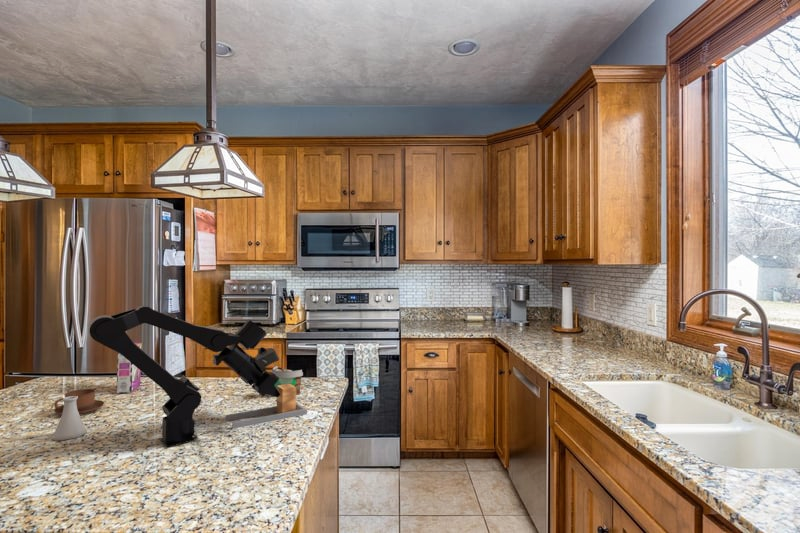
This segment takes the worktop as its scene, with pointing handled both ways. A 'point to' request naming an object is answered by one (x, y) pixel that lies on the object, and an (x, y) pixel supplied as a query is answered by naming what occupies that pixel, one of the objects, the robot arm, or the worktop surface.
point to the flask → (69, 421)
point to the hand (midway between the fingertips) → (278, 395)
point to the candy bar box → (127, 375)
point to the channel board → (298, 412)
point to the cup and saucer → (82, 401)
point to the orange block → (286, 398)
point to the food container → (288, 377)
